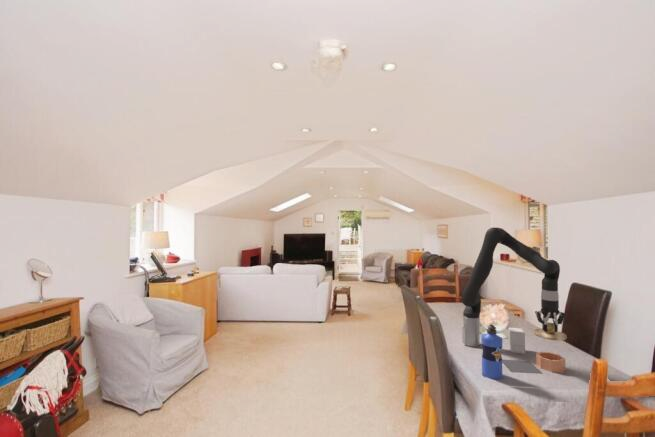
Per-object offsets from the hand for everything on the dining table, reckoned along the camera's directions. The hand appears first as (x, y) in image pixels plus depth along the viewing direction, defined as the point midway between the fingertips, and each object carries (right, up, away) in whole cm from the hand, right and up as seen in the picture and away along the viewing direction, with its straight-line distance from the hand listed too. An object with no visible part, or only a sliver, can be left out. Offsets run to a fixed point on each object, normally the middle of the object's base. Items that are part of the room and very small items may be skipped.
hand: (550, 331), depth 171 cm
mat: (-15, -19, +1) cm, 24 cm away
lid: (0, -2, 0) cm, 2 cm away
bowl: (0, -19, 0) cm, 19 cm away
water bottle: (-34, -19, -8) cm, 40 cm away
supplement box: (-5, -19, +22) cm, 30 cm away
